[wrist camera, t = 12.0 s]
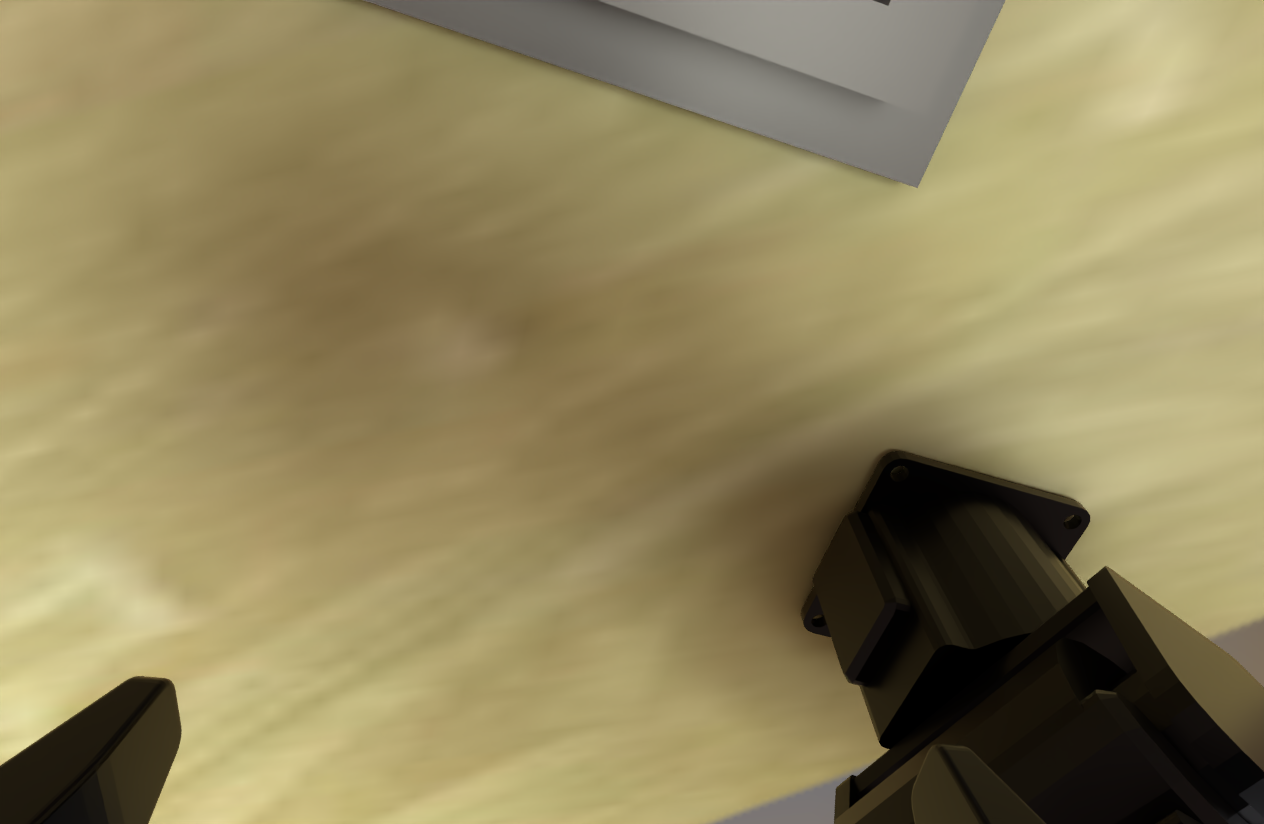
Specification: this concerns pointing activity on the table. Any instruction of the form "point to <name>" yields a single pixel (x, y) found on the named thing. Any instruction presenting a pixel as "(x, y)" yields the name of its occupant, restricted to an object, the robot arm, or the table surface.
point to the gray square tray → (761, 62)
